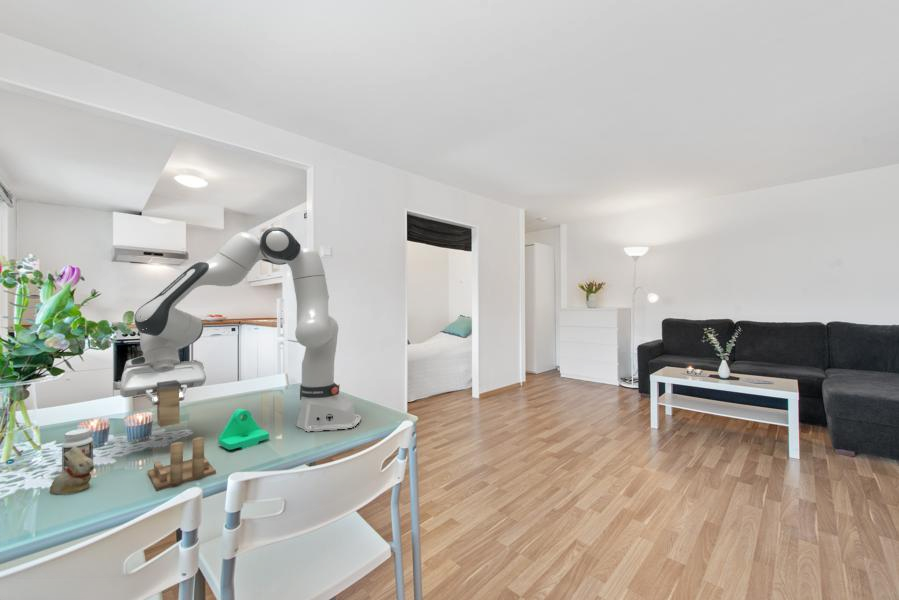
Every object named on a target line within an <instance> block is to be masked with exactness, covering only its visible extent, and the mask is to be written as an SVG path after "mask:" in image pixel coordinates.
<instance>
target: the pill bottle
mask: <svg viewBox="0 0 899 600" xmlns="http://www.w3.org/2000/svg"><path fill="white" fill-rule="evenodd" d="M90 435H91V428H76V429H72V430H69V431H68V432H65V433H64V439H65V440H66V441H65V442H63V443H62V446H61V470H62V471H61V473H63V472H65V471H66V470H67V468H68V466H67V463H66V462H65V460H64V458H63V455H64V453H66V452H68V451H69V450H71V448H73V447H78V448H79V449H80V450H81V451H82V452H83V454H84V455H85V456H86V457H88V458H91V459H92V460H93V461H94V439H93V437H91V436H90Z"/></svg>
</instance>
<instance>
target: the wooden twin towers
mask: <svg viewBox="0 0 899 600" xmlns="http://www.w3.org/2000/svg"><path fill="white" fill-rule="evenodd" d="M215 474H217V470H216V468H214V466H213V465H211V463H210V461H209V460H208V459H207V458H206V457H205V437H203V436H202V437H195V438H193V439H192V457H191V459H188V460H184V442H183V441H177V442H173V443H171V444H170V463H169V464H168V465H164V466H163V464H162V462H161V461H155V462H154V463H153V469H149V470H147V475H148V477H149V479H150V482H151V483H152V485H153V487H154V489H155V490H156V492H157V491H161V490H165V489H168V488H172V487H174V486H178V484H179V485H182V484H185V483H188V481H189V482H192V481H195V480H198V479H202V478H205V477H209V476H213V475H215ZM184 482H185V483H184ZM181 483H182V484H181Z"/></svg>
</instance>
